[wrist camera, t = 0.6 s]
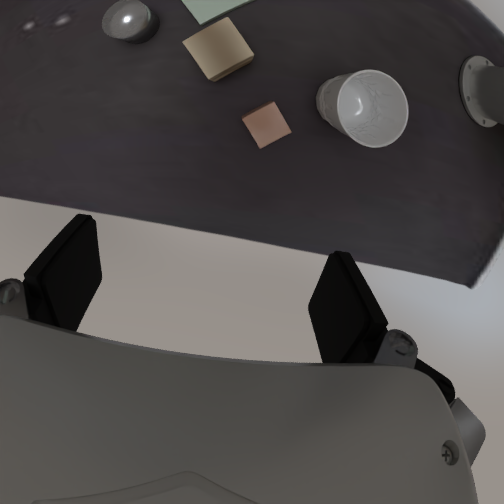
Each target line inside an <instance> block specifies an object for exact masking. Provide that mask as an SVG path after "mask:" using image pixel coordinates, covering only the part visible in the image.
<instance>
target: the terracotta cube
mask: <svg viewBox="0 0 504 504" xmlns="http://www.w3.org/2000/svg"><path fill="white" fill-rule="evenodd" d="M242 120H243V121H244V123H245V125H246V126H247V128H248V130H249V131H250V133H251V134H252V136H253V138H254V139H255V141H256V143H257V144H258V146H259V148H260V149H261V148H262V147H264V146H266V145H268V144H270V143H272V142H274V141H276V140H277V139H279V138H281V137H283V136H285V135H287V134H289V133H291V130H290V128H289V127H288V125H287V123H286V121H285V120H284V118H283V116H282V114H281V113H280V111H279V109H278V107H277V106H276V104H275V102H273V101H269V102H267V103H265V104H263V105H261V106H259V107H257V108H255V109H253V110H252V111H250V112H248V113H246V114H244V115H242Z"/></svg>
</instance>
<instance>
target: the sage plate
mask: <svg viewBox="0 0 504 504" xmlns="http://www.w3.org/2000/svg"><path fill="white" fill-rule="evenodd" d="M252 1H255V0H182V2H183V3H184V4H185V6H186V7H187V8H188V9H189V11H190V12H191V13H192V15H193V16H194V17H195V19H196V20H197V21H198V23H199V24H200V25H201V26H203V25H205V24H207V23H208V22H210V21H212V20H214V19H216V18H218V17H220V16H222V15H224V14H226V13H228V12H230V11H232V10H234V9H236V8H239V7H241V6H243V5H245V4H248V3H250V2H252Z"/></svg>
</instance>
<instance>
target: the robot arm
mask: <svg viewBox="0 0 504 504" xmlns="http://www.w3.org/2000/svg"><path fill="white" fill-rule="evenodd" d="M459 86H460V94H461V98H462V101H463V104H464V107H465V109H466V111H467V113H468V114H469V116H470V117H471V118H472V119H473V120H474V121H475V122H476V123H477V124H479V125H481V126H484V127H492V126H494V125H496V124H497V123H501V124H503V125H504V68H503V67H496V66H494V65H493V64H492V63H491V62H490V61H489V60H488V59H486V58H484V57H482V56H470V57H469V58H467V59H466V60H465V61H464V63H463V65H462V67H461V71H460V77H459ZM24 277H25V279H24V281H23V282H21V281H20V280H18V279H13V278H10V279H6V280H4V281H1V282H0V504H478V499H477V493H476V488H475V483H474V479H473V475H472V471H471V465H472V464H473V462H474V460H475V458H476V456H477V454H478V452H479V450H480V448H481V446H482V444H483V442H484V440H485V429H484V426H483V424H482V423H481V422H480V420H479V419H478V418H477V417H476V416H475V415H474V414H473V413H472V412H471V411H470V410H469V408H468V407H467V406H466V405H465V404H464V403H463V402H462V401H461V400H460V399H459V398H457V399H455V390H454V387H453V385H452V382H451V381H450V380H449V379H448V378H446V377H445V376H444V375H442V374H441V373H439V372H438V371H436V370H435V369H433V368H432V367H430V366H429V365H427V364H426V363H424V362H423V361H421V360H420V359H418V358H417V354H418V348H417V345H416V343H415V341H414V340H413V339H412V338H411V336H410V335H408V334H407V333H405V332H403V331H401V330H397V329H393V330H389V331H388V330H387V328H386V326H387V325H388V321H387V319H386V317H385V315H384V314H383V312H382V310H381V308H380V306H379V304H378V302H377V300H376V298H375V297H374V295H373V293H372V291H371V289H370V287H369V286H368V284H367V282H366V280H365V279H364V277H363V275H362V273H361V272H360V270H359V268H358V266H357V265H356V263H355V261H354V260H353V258H352V256H351V254H350V253H348V252H342V251H335V252H334V253H333V254H332V253H331V254H330V255H329V257H328V259H327V262H326V264H325V266H324V269H323V271H322V274H321V276H320V279H319V281H318V283H317V286H316V288H315V290H314V293H313V295H312V297H311V299H310V302H309V305H308V311H309V315H310V318H311V322H312V325H313V329H314V332H315V336H316V340H317V344H318V347H319V351H320V355H321V359H322V362H323V363H293V362H291V363H290V362H270V361H253V360H242V359H230V358H220V357H211V356H202V355H195V354H187V353H180V352H173V351H167V350H160V349H154V348H149V347H143V346H138V345H132V344H127V343H122V342H117V341H113V340H108V339H103V338H99V337H95V336H91V335H87V334H83V333H78V332H76V331H77V329H78V327H79V324H80V322H81V320H82V318H83V316H84V314H85V312H86V310H87V308H88V306H89V304H90V302H91V300H92V298H93V296H94V294H95V293H96V291H97V289H98V287H99V285H100V283H101V280H102V271H101V264H100V256H99V248H98V239H97V228H96V221H95V220H94V219H93V218H92V216H91V215H85V214H77V215H76V216H75V217H74V218H73V219H72V220H71V221H70V222H69V223H68V224H67V225H66V226H65V227H64V228H63V229H62V230H61V232H60V233H59V234H58V235H57V236H56V237H55V238H54V239H53V240H52V241H51V242H50V244H49V245H48V246H47V247H46V248H45V249H44V250H43V251H42V253H41V254H40V255H39V256H38V258H37V259H36V260H35V261H34V262H33V263H32V264H31V266H30V267H29V268H28V269H27V271H26V272H25V273H24Z"/></svg>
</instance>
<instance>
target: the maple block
mask: <svg viewBox="0 0 504 504" xmlns="http://www.w3.org/2000/svg"><path fill="white" fill-rule="evenodd" d="M183 44H184V45H185V46H186V48H187V49H188V51H189V52H190V53H191V55H192V56H193V58H194V59H195V60H196V62H197V63H198V65H199V66H200V68H201V69H202V71H203V72H204V74H205V75H206V76H207V78H208V79H209V80H211V81H214V82H216V81H217V80H219V79H221V78H223V77H224V76H226V75H228V74H230V73H232V72H233V71H235V70H237V69H239V68H241V67H243V66H245V65H247V64H249V63H251V62H252V59H253V56H254V54H253V52H252V51H251V49H250V48H249V46H248V45H247V43H246V42H245V40H244V39H243V37H242V36H241V35H240V33H239V32H238V30H237V29H236V27H235V26H234V25H233V23H232V22H231V21H230V19H229V18H228V17H226V18H224V19H222V20H220V21H218V22H216V23H215V24H213V25H211V26H209V27H207V28H205V29H204V30H202V31H200V32H198V33H196V34H195V35H193V36H191V37H190V38H188V39H186V40H185V41H183Z"/></svg>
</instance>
